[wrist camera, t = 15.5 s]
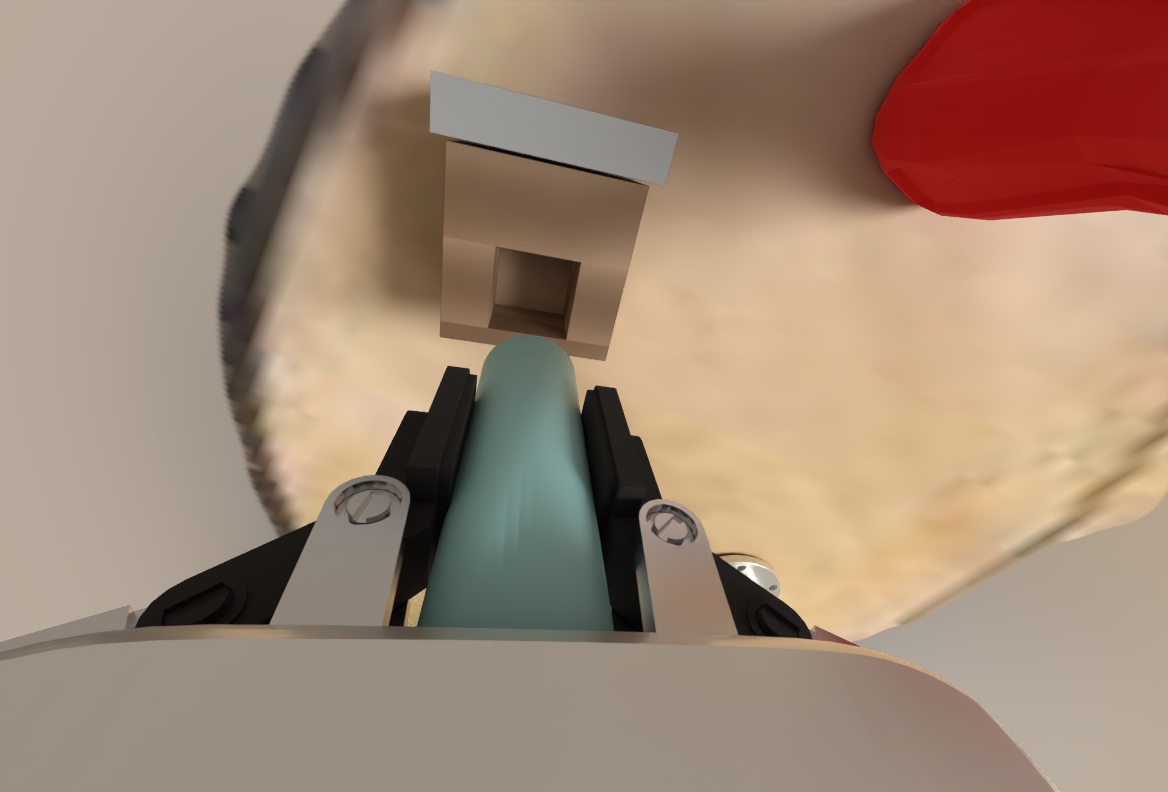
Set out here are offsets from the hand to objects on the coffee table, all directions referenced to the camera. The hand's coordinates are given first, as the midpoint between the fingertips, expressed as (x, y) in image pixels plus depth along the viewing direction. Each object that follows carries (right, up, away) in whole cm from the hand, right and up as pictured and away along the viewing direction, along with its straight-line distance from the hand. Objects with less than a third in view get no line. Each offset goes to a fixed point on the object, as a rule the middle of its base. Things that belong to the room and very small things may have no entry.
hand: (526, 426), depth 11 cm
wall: (0, +15, +11) cm, 18 cm away
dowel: (0, +1, +2) cm, 3 cm away
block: (-1, +10, +14) cm, 17 cm away
